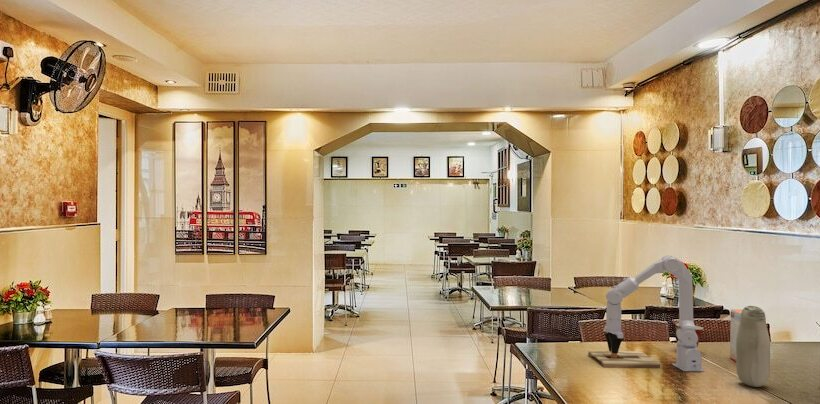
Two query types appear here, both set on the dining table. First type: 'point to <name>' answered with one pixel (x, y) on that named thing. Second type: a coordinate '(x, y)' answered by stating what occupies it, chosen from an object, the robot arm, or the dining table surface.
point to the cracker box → (734, 331)
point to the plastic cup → (698, 332)
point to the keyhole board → (625, 359)
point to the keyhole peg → (613, 355)
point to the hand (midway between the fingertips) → (613, 352)
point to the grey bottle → (753, 348)
